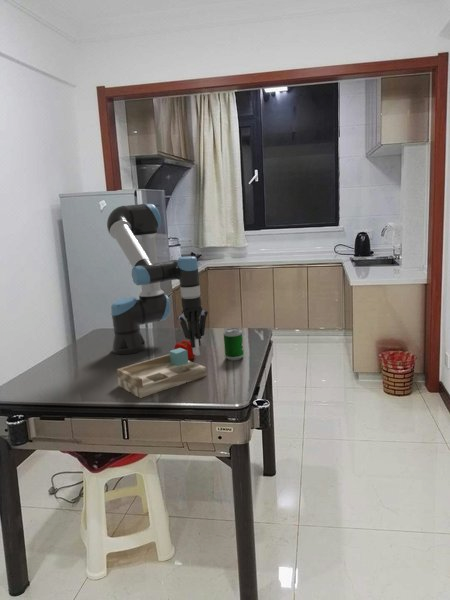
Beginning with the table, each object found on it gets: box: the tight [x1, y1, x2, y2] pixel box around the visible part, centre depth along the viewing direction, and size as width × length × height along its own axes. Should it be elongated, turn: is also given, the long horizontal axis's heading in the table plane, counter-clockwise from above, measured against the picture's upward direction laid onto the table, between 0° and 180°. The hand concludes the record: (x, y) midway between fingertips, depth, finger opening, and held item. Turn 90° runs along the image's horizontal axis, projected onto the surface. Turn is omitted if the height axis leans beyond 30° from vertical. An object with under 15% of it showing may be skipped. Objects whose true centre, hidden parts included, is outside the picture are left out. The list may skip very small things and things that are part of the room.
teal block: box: [169, 348, 188, 366], centre depth 197 cm, size 5×5×5 cm
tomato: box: [173, 339, 196, 361], centre depth 212 cm, size 9×9×8 cm
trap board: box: [116, 353, 207, 399], centre depth 189 cm, size 17×28×6 cm, turn 127°
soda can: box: [223, 327, 244, 361], centre depth 208 cm, size 8×8×12 cm
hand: (196, 354), depth 202 cm, fingers closed
